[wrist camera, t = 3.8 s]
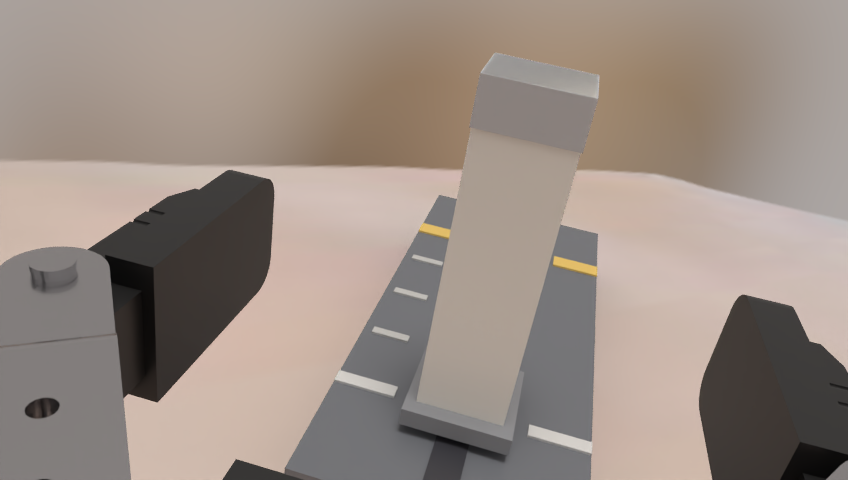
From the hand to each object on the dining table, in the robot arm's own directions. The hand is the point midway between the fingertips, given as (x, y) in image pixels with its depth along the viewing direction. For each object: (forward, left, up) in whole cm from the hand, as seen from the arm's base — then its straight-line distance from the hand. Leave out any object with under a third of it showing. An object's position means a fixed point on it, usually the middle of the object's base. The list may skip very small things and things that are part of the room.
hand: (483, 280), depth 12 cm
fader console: (+10, +14, -14) cm, 22 cm away
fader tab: (+6, +9, -11) cm, 15 cm away
